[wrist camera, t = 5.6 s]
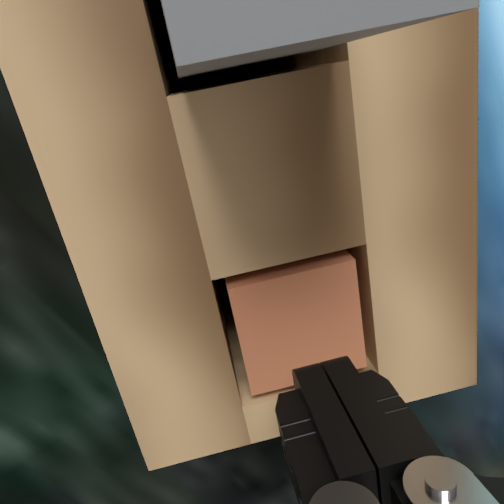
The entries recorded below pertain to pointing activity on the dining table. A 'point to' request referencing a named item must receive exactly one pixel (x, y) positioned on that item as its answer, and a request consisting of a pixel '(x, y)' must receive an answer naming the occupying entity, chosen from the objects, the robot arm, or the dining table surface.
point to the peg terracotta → (297, 317)
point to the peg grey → (283, 27)
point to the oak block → (251, 202)
